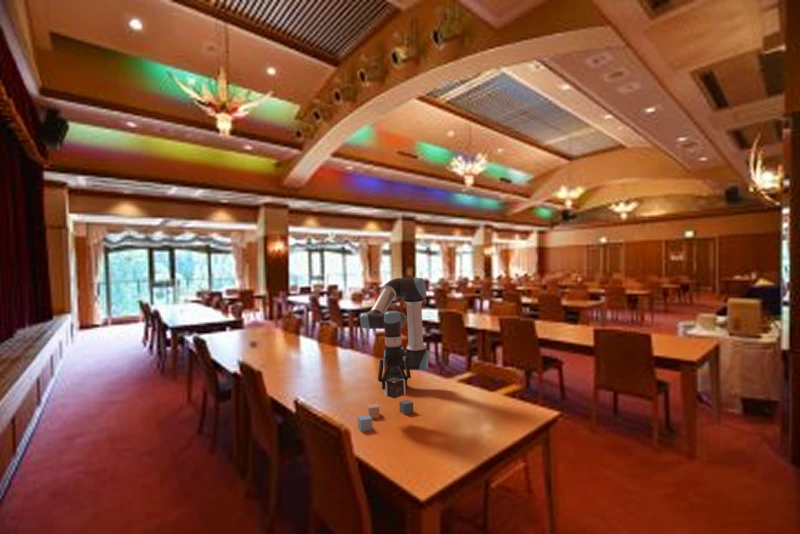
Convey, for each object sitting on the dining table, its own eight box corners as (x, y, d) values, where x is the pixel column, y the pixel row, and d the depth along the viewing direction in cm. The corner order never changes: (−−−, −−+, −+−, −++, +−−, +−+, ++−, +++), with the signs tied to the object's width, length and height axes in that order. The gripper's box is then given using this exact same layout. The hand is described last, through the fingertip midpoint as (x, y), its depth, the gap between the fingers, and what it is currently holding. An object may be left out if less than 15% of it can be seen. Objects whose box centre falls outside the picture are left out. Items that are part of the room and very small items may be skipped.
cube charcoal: (399, 411, 185) (399, 401, 185) (408, 409, 187) (408, 399, 188) (404, 414, 181) (404, 404, 181) (413, 412, 183) (413, 402, 183)
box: (395, 392, 178) (394, 377, 179) (404, 395, 174) (403, 379, 174) (385, 396, 174) (385, 380, 174) (394, 399, 170) (394, 382, 170)
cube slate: (357, 427, 167) (357, 416, 167) (368, 425, 169) (368, 414, 169) (361, 432, 163) (360, 420, 163) (372, 429, 164) (371, 418, 165)
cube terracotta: (368, 414, 182) (367, 404, 182) (378, 413, 183) (378, 403, 183) (369, 418, 177) (368, 407, 178) (379, 417, 178) (379, 406, 178)
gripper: (373, 349, 167) (374, 400, 167) (417, 344, 174) (419, 394, 174) (369, 345, 175) (371, 395, 175) (411, 341, 181) (413, 389, 181)
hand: (394, 394), depth 174 cm, fingers closed on box, 8 cm apart
